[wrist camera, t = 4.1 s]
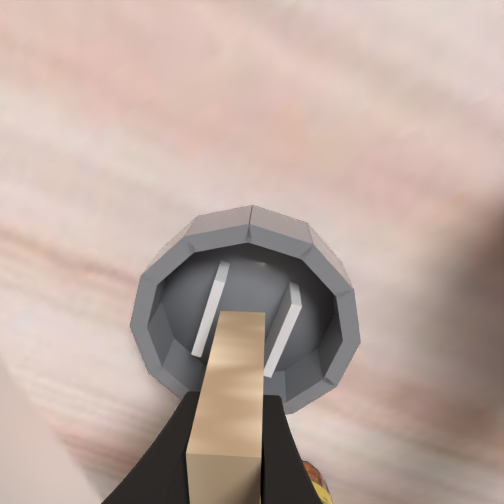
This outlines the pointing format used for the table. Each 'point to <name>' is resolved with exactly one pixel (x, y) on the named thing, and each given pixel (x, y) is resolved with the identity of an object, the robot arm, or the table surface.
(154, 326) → the grey round bowl
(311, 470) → the sauce bottle
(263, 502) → the robot arm
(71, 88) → the table surface
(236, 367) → the wooden jenga block
